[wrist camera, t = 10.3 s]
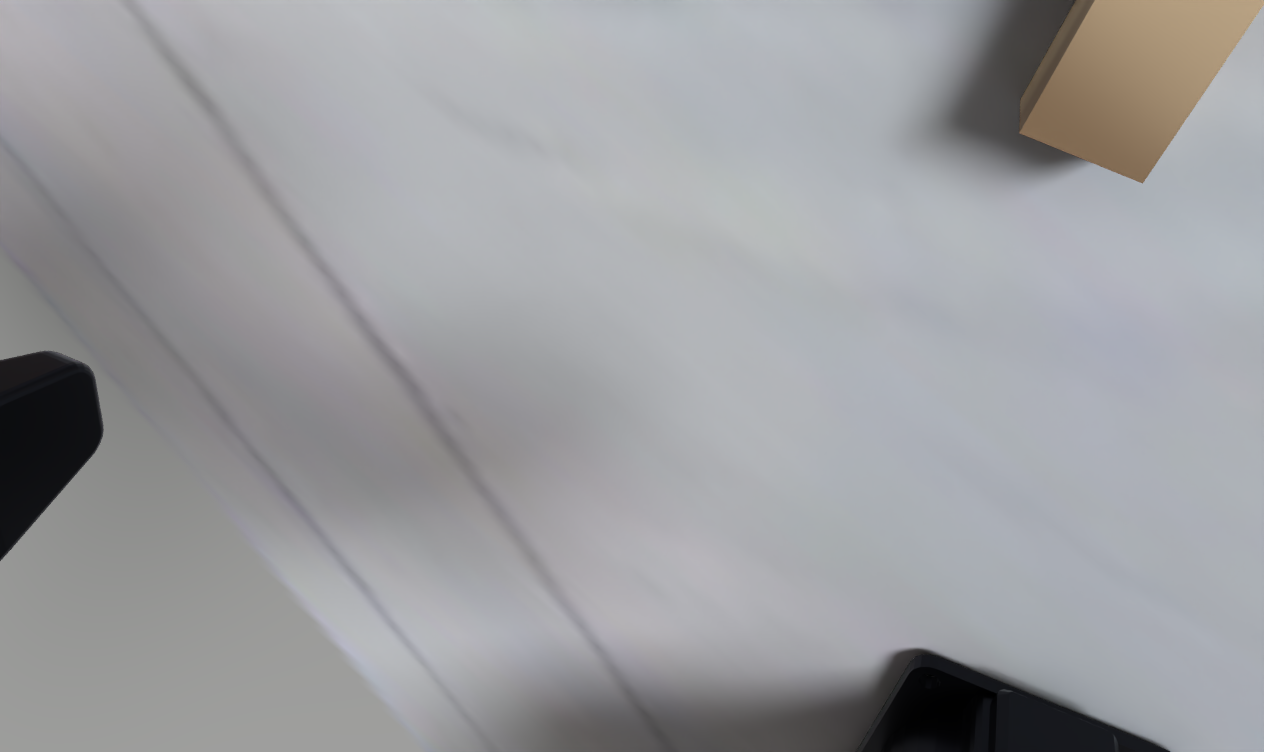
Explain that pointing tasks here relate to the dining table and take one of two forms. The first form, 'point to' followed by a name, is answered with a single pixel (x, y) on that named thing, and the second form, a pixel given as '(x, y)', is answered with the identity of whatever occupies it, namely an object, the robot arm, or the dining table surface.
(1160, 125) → the tan bar
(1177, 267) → the dining table surface
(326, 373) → the dining table surface
